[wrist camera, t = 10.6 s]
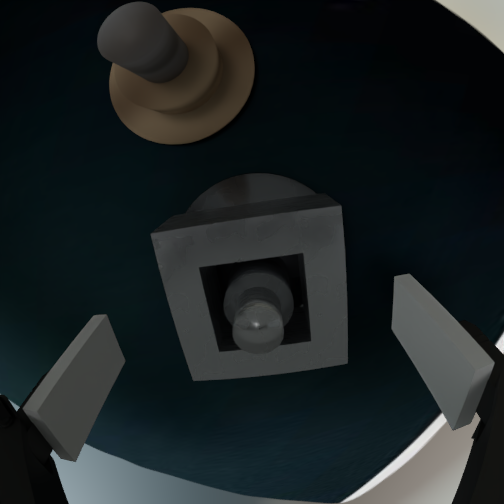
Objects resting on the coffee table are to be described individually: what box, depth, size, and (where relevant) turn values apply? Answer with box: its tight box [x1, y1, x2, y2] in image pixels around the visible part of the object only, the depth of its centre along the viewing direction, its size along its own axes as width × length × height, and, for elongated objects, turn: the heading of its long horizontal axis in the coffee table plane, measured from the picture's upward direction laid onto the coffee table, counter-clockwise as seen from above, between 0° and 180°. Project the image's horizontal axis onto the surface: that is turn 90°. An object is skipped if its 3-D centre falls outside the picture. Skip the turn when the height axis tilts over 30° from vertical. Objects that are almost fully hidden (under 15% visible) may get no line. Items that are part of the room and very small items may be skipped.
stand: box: [97, 2, 255, 144], centre depth 14 cm, size 10×10×9 cm
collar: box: [151, 193, 348, 381], centre depth 18 cm, size 9×9×4 cm
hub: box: [185, 173, 346, 354], centre depth 18 cm, size 12×12×10 cm
